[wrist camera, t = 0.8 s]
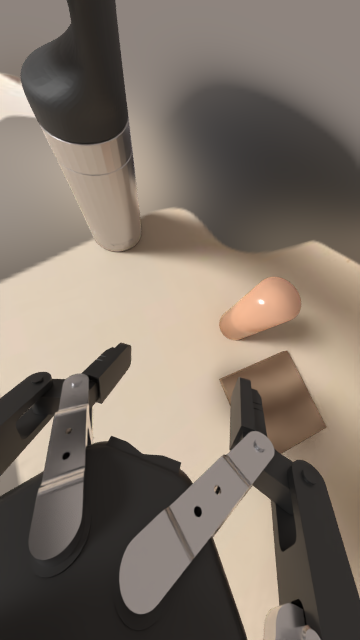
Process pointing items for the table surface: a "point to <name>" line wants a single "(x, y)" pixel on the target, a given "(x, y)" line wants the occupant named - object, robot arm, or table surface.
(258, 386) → the walnut pad
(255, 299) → the orange tan cylinder
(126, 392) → the table surface
